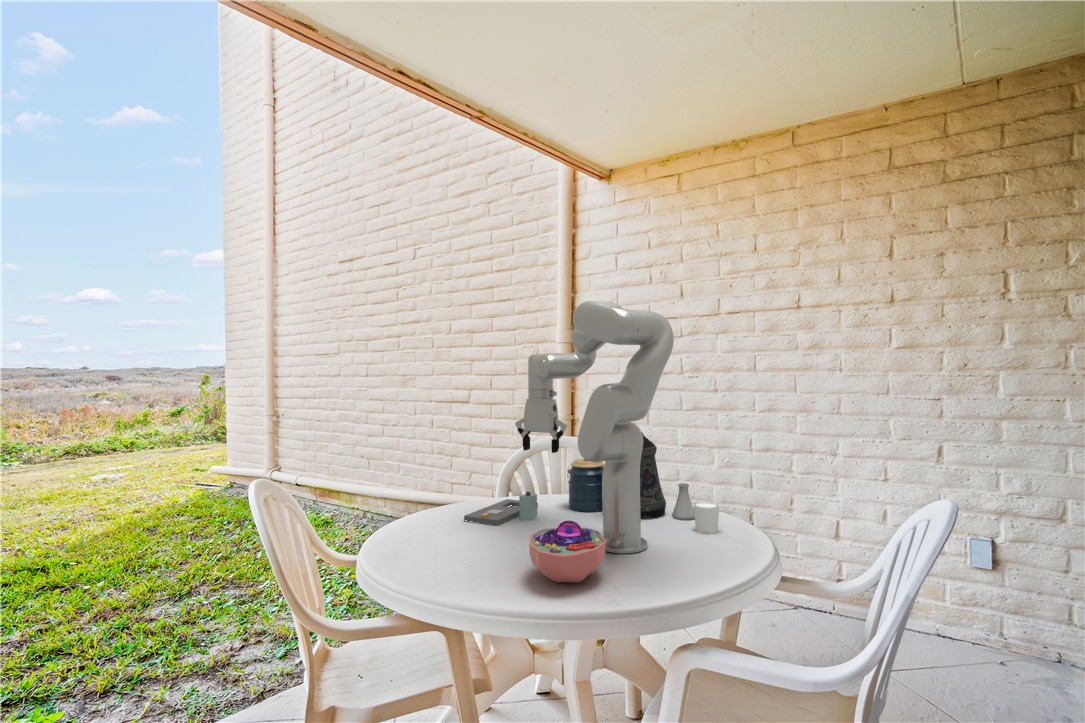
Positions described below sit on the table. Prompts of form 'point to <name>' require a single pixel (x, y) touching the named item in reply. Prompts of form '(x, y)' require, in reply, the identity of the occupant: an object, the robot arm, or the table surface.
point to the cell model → (567, 552)
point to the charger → (528, 506)
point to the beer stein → (650, 483)
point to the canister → (586, 485)
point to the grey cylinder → (706, 517)
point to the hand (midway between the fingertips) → (540, 451)
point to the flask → (683, 504)
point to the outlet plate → (496, 513)
